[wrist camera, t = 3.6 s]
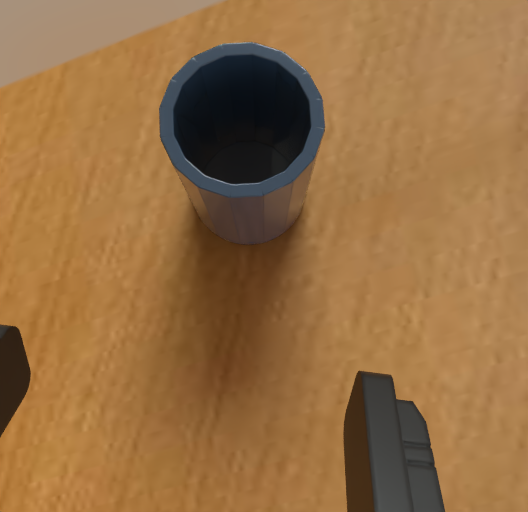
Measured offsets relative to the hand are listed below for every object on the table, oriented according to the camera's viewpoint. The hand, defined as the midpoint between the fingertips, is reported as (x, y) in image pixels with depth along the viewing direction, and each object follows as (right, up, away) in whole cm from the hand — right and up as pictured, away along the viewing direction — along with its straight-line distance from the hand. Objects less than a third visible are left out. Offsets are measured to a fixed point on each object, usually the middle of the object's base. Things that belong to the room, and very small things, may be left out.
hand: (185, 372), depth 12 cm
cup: (+1, +6, +14) cm, 15 cm away
